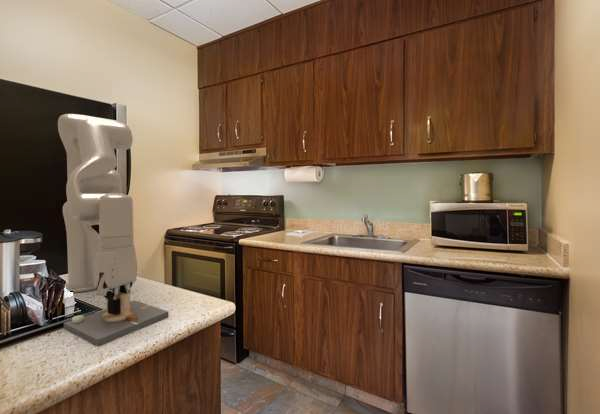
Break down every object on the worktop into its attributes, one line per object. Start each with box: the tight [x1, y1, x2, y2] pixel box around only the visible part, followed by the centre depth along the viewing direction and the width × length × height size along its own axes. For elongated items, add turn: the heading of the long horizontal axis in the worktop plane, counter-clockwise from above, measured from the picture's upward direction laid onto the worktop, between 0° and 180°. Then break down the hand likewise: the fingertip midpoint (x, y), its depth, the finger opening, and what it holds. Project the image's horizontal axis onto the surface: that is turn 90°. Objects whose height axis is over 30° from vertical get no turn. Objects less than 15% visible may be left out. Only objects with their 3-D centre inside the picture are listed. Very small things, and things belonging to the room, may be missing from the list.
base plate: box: [63, 299, 169, 347], centre depth 78 cm, size 16×18×3 cm
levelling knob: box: [103, 290, 138, 323], centre depth 77 cm, size 10×7×6 cm
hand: (118, 310), depth 78 cm, fingers closed on levelling knob, 2 cm apart
